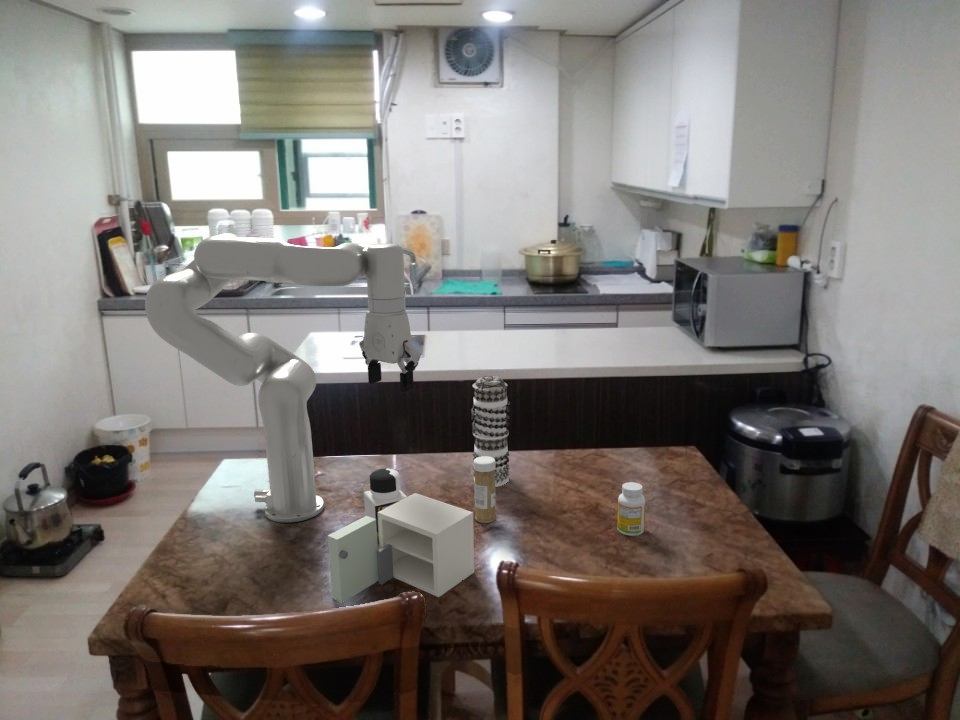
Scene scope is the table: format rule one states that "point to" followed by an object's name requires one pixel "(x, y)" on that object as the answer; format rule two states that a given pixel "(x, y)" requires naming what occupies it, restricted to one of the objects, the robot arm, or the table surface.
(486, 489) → the spice jar
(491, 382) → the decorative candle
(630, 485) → the supplement bottle
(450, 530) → the cabinet
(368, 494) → the medicine bottle
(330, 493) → the table surface
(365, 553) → the door
